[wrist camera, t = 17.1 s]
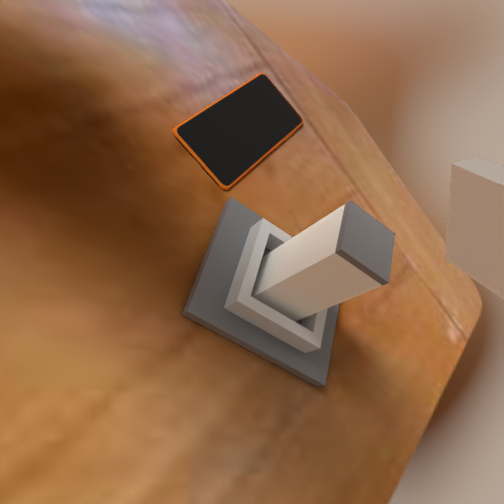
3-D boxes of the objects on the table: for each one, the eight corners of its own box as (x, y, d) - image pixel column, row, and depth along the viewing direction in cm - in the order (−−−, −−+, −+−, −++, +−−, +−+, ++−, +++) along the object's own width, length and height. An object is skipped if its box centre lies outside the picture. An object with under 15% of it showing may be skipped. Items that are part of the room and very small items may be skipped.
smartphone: (167, 133, 42) (171, 128, 42) (259, 75, 53) (263, 70, 53) (223, 195, 43) (227, 191, 43) (302, 126, 54) (306, 121, 53)
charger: (250, 298, 39) (341, 249, 30) (263, 256, 41) (350, 200, 33) (291, 323, 40) (388, 282, 32) (302, 280, 43) (394, 233, 35)
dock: (181, 314, 36) (199, 303, 34) (225, 201, 43) (242, 186, 40) (317, 387, 40) (341, 381, 38) (337, 275, 47) (359, 265, 45)
